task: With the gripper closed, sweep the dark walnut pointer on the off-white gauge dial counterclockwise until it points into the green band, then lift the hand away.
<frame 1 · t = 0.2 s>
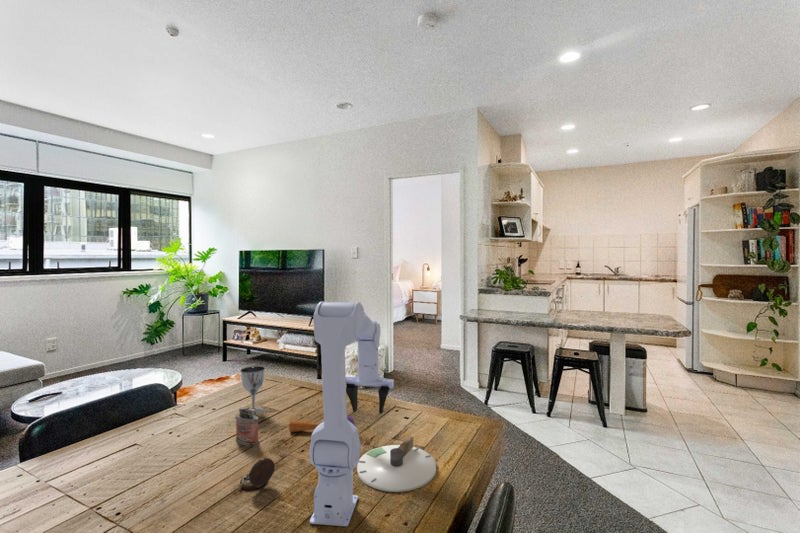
hand: (368, 411, 109), 10 cm above the table, tool pointing down, fingers open, 7 cm apart
lighter: (247, 442, 112), on the table
compass: (251, 486, 91), on the table
wine glass: (253, 412, 134), on the table
kendama: (322, 434, 118), on the table
tuning pointer: (403, 450, 101), point 3 cm above the table, hinge at -20.0°
gauge dial: (396, 467, 98), on the table
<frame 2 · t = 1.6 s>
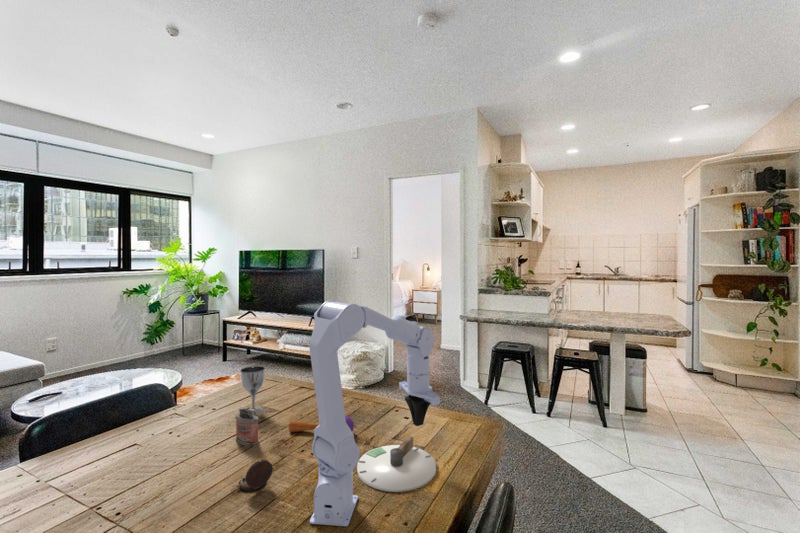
hand: (418, 424, 100), 10 cm above the table, tool pointing down, fingers closed
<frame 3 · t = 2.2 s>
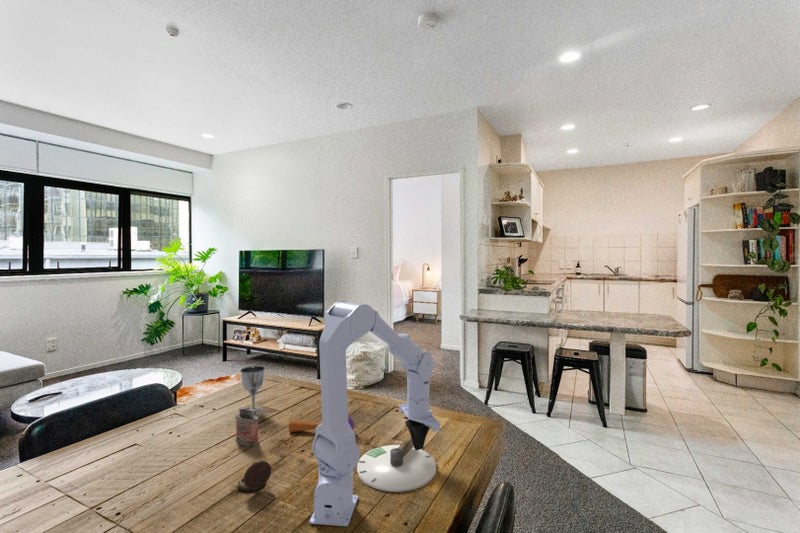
hand: (418, 448, 100), 4 cm above the table, tool pointing down, fingers closed
nothing on the table moved.
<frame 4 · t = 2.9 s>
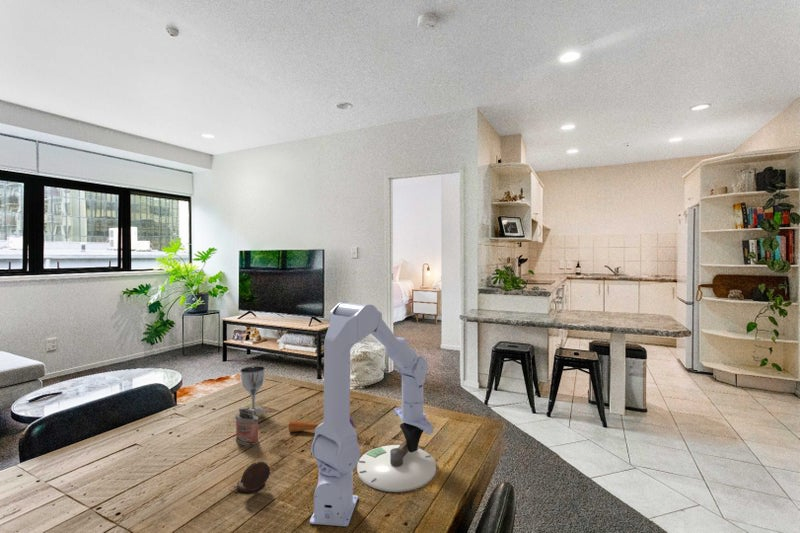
hand: (412, 450, 102), 2 cm above the table, tool pointing down, fingers closed, pressing on tuning pointer
tuning pointer: (403, 450, 101), point 3 cm above the table, hinge at -20.0°, touching gripper
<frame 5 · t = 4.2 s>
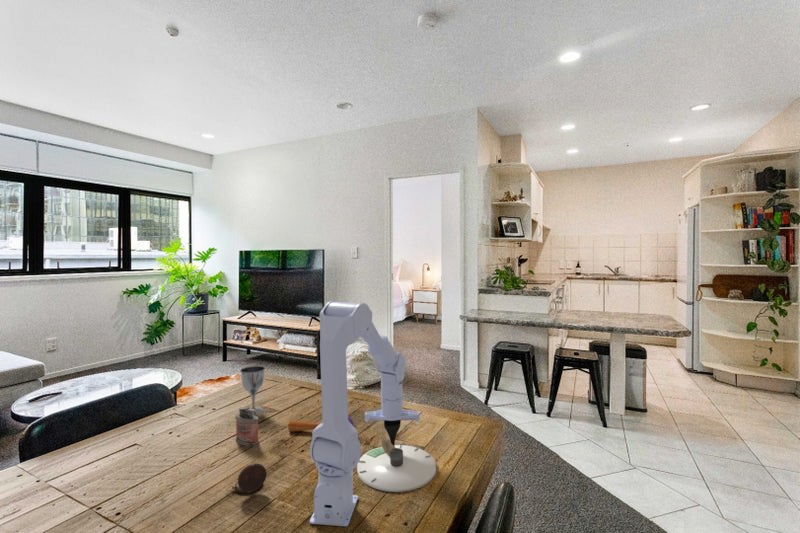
hand: (392, 446, 104), 3 cm above the table, tool pointing down, fingers closed, pressing on tuning pointer
tuning pointer: (390, 450, 101), point 3 cm above the table, hinge at 31.2°, touching gripper
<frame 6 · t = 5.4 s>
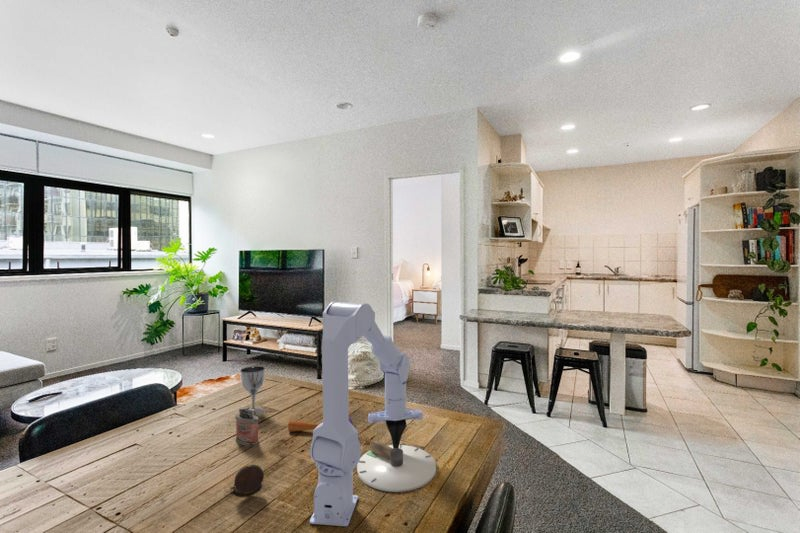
hand: (395, 446, 104), 2 cm above the table, tool pointing down, fingers closed
tuning pointer: (386, 452, 100), point 3 cm above the table, hinge at 55.0°
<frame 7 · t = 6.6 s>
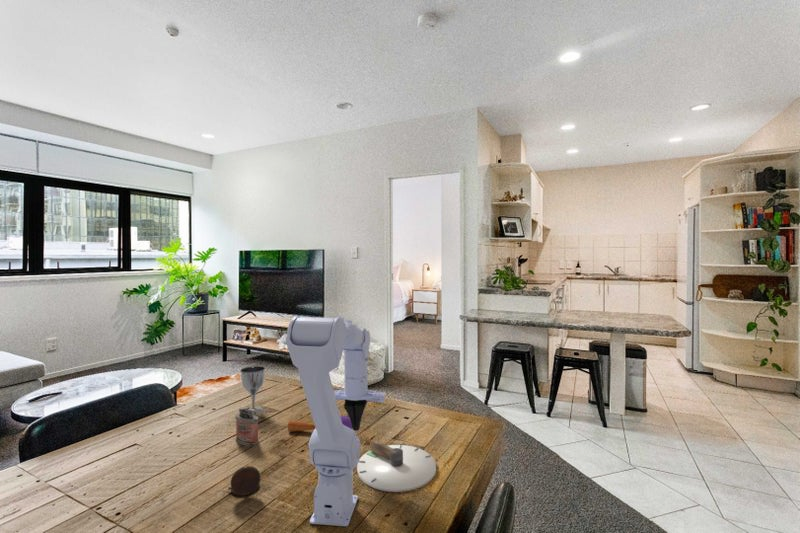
hand: (356, 428, 97), 10 cm above the table, tool pointing down, fingers closed
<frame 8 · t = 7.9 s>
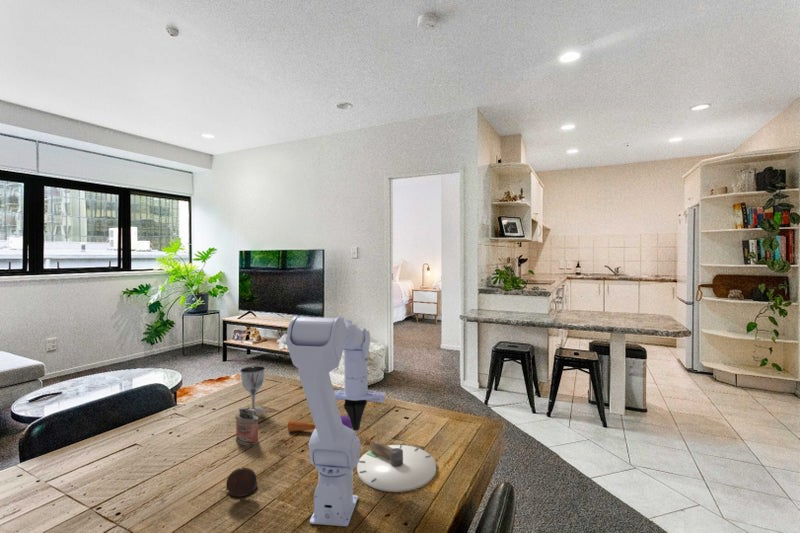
hand: (356, 428, 97), 10 cm above the table, tool pointing down, fingers closed
at the end: tuning pointer at +55° (first picture: -20°) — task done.
